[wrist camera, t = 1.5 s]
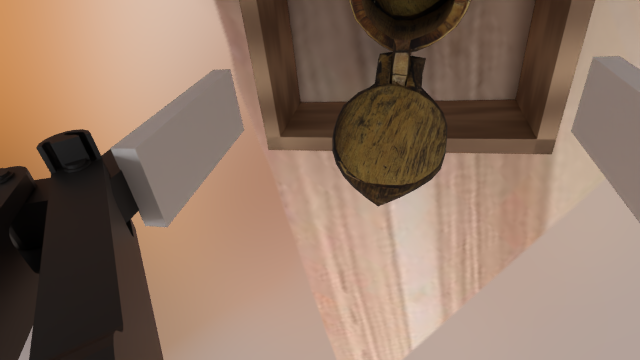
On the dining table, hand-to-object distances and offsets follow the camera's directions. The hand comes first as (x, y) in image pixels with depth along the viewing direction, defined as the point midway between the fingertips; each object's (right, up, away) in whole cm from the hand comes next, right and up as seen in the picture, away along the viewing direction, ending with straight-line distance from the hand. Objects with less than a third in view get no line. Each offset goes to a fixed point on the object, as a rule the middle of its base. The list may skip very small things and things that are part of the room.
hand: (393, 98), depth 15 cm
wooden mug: (+4, +11, +15) cm, 19 cm away
